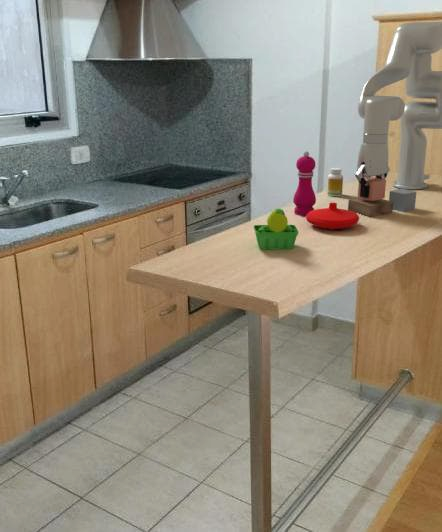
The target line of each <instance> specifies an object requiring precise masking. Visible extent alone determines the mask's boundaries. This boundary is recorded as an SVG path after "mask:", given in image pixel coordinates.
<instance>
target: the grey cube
mask: <svg viewBox="0 0 442 532" xmlns="http://www.w3.org/2000/svg"><path fill="white" fill-rule="evenodd" d="M416 200H417V191H415V190H412V189H401V188H397V189H394V190H390V191H389V196H388V201H392V202H393V211H396V210H397V212H401V213H405V212H409V211H414V210H416Z"/></svg>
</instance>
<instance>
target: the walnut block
mask: <svg viewBox="0 0 442 532" xmlns="http://www.w3.org/2000/svg"><path fill="white" fill-rule="evenodd" d="M347 202H348V203H347V204H348V205H347V210H349V211H352V212H355V213H356V214H357V213H358V214H357V215H360V214H361V216H363V215H364V217H366V216H367V218H372V217H377V216H383V215H384V214H385V215H389V213H390V214H394V213H393V212H394V210H393V202H392V201H389V199H385V198H383V199H379V200H374V201H370V200H366V199H361V198H358V197H357V198H352V199H348V201H347Z"/></svg>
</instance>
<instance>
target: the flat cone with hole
mask: <svg viewBox="0 0 442 532" xmlns="http://www.w3.org/2000/svg"><path fill="white" fill-rule="evenodd" d="M328 204H329V205H328V207H325V208H317V209H314V210H312V211H310V212H309V213H308V214H307V215H306V216H305V218H306V222H308V223H309V224H311V225H313V226H315V227H317V228H319V229H325V230H342V229H347V228H350V227H352V226H354V225H357V224H358V223H359V220H360V215H359V214H357V213H355V212H352V211H349V210H348V209H344V208H343V209H342V208H338V207H337V206H338V203H337V202H329V203H328Z"/></svg>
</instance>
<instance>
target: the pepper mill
mask: <svg viewBox="0 0 442 532" xmlns="http://www.w3.org/2000/svg"><path fill="white" fill-rule="evenodd" d="M295 164H296V169H297V170H298V171H297V177H298V186H297V189H296V191H295V193H294V194H293V199H292V201H293V204H294V205H295V207H294V214H295V215H297V216H301V217H302V216H305V217H306V215H307V214H308V213H309V212H310V211H312V210H315V208H314V206H315V204H316V203H317V202H316V201H317V197H316V193H315V190H314V188H313V183H312V182H313V177H314V170H315V168H316V160H315V159H314V158H313V157H312V156H310V153H309V151H304V152H303V156H301V157H299V158H298V159H297V160H296V163H295Z"/></svg>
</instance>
